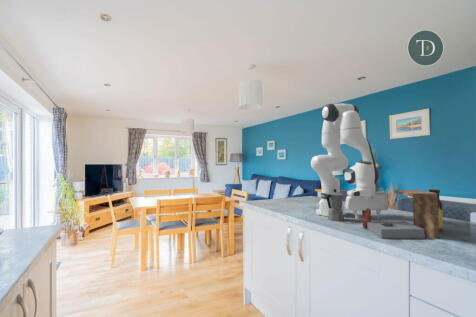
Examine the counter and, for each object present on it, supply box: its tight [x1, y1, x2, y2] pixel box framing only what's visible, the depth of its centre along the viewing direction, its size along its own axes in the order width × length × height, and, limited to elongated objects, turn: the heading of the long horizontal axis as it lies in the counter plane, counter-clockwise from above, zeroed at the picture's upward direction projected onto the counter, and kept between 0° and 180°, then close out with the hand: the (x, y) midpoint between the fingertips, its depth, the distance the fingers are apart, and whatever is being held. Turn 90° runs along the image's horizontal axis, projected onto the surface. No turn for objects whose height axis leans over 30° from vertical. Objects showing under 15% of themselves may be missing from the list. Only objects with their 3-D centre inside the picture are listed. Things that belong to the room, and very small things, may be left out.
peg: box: [361, 209, 372, 229], centre depth 126 cm, size 4×4×10 cm
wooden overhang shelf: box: [394, 189, 440, 239], centre depth 113 cm, size 14×10×20 cm
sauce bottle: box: [428, 188, 444, 232], centre depth 118 cm, size 7×6×20 cm
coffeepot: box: [327, 189, 345, 222], centre depth 144 cm, size 15×9×18 cm, turn 129°
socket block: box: [366, 220, 426, 239], centre depth 113 cm, size 14×18×4 cm
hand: (367, 218), depth 126 cm, fingers open, 8 cm apart
